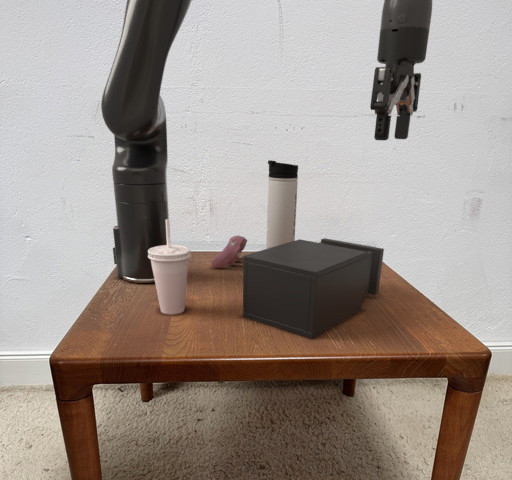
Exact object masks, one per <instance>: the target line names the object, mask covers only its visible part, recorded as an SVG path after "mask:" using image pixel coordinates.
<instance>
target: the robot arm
mask: <svg viewBox="0 0 512 480" xmlns="http://www.w3.org/2000/svg"><path fill="white" fill-rule="evenodd" d="M191 4H192V0H126V4H125V11H124V16H123V17H124V18H123V24H122V28H121V29H122V30H121V35H120V37H119V38H120V39H119V43H118V46H117V49H116V52H115V56H114V59H113V61H112V65H111V68H110V71H109V74H108V77H107V80H106V84H105V87H104V89H103V93H102V96H101V102H100V103H101V104H100V110H101V115H102V119H103V121H104V124H105V126H106V127H107V129H108V130H109V131H110V132H111V134H112V135H113V139H114V158H113V163H112V167H111V171H112V172H111V173H112V182H113V183H112V184H113V193H114V194H113V195H114V201H115V202H114V203H115V212H116V224H117V225H115V226H113V227H112V232H113V242H114V247H112V253H113V262H114V265H116V270H117V278H118V279H123V280H124V281H126V282H130V283H136V284H137V283H138V284H151V283H155V279H154V274H153V270H152V264H151V259H149V258H148V250H149V249H150V248H152V247H156V246H162V245H167V238H166V221H165V220H166V219H169V220H170V216H169V214H170V213H169V200H168V199H169V198H168V197H169V195H168V183H167V182H168V180H167V179H168V178H167V177H168V176H167V170H168V159H169V157H168V153H169V152H168V130H167V129H168V128H167V127H168V126H167V114H166V112H167V111H166V106H165V103H164V100H163V98H162V96H161V90H162V85H163V84H162V83H163V78H164V72H165V68H166V64H167V60H168V56H169V53H170V51H171V48H172V46H173V44H174V41H175V39H176V37H177V35H178V33H179V31H180V29H181V27H182V25H183V22H184V20H185V18H186V15H187V13H188V12H189V9H190V6H191ZM432 15H433V0H384V1H383V6H382V12H381V18H380V29H379V37H378V47H377V55H376V56H377V57H376V61H377V62H378V63H379V64H382V65H385V66H377V67H375V69H374V72H373V73H374V74H373V80H372V81H373V82H372V90H371V97H370V104H369V105H370V106H369V107H370V110H371V111H374V115H376V117H375V118H376V119H375V127H374V136H373V138H374V140H375V141H388V140H389V137H390V129H391V121H392V115H391V114H392V112H393V110H394V107H396V113H397V116H396V120H395V128H394V136H393V137H394V139H395V140H407V139H408V138H409V132H410V125H411V124H410V123H411V118H412V116H413V114H414V113H415V112H417V111H418V109H419V107H418V105H419V99H420V98H419V97H420V89H421V88H420V87H421V82H422V81H421V80H422V73H421V72H415V65H416V64H422V63H424V62H425V60H426V56H427V50H428V44H429V35H430V30H431V29H430V28H431V21H432Z"/></svg>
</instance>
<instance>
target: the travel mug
mask: <svg viewBox="0 0 512 480" xmlns="http://www.w3.org/2000/svg"><path fill="white" fill-rule="evenodd" d="M267 165H268V176H267V179H268V181H267V209H266V211H267V212H266V247H265V249H268V248H272V247H275V246H278V245H282V244H285V243H289V242H292V241H296V238H295V237H296V221H297V220H296V219H297V201H298V185H299V184H298V183H299V182H298V180H299V177H298V175H299V174H298V173H299V165H298V164H291V163H285V162H277V161H276V160H273V159H272V160H271V159H270V160H267Z"/></svg>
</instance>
